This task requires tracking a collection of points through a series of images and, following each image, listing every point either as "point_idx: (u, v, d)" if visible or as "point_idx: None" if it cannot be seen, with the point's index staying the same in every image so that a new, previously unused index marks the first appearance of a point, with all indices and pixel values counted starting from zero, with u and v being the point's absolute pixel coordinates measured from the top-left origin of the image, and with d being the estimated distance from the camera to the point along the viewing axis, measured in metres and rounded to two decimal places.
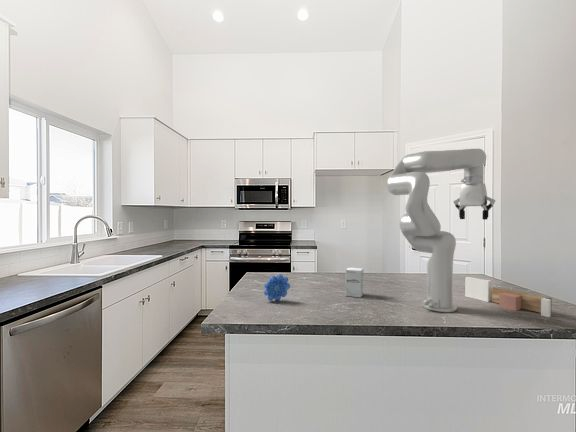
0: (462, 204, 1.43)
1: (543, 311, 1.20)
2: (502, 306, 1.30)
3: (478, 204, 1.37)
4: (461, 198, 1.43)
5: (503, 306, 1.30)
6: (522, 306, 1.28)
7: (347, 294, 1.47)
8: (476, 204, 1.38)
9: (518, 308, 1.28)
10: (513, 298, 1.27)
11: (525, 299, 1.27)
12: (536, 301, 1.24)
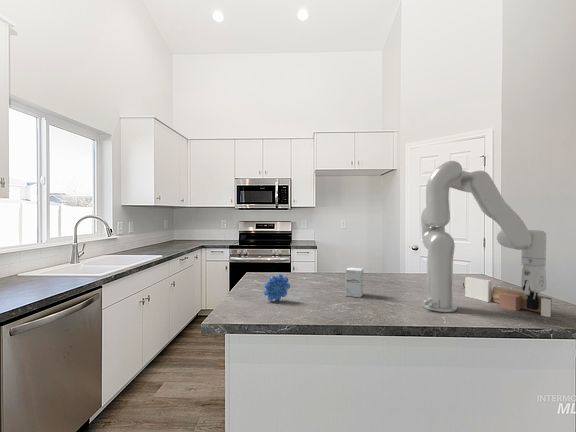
0: (537, 291, 1.19)
1: (543, 311, 1.20)
2: (502, 306, 1.30)
3: (545, 289, 1.22)
4: (536, 284, 1.19)
5: (503, 306, 1.30)
6: (522, 306, 1.28)
7: (347, 294, 1.47)
8: (544, 289, 1.22)
9: (518, 308, 1.28)
10: (513, 298, 1.27)
11: (525, 299, 1.27)
12: None
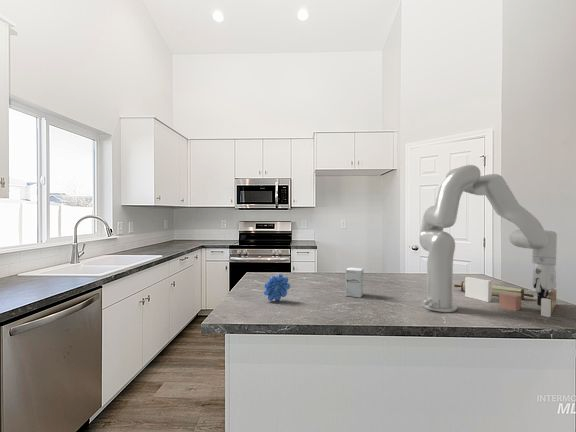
0: (547, 288, 1.24)
1: (543, 311, 1.20)
2: (502, 306, 1.30)
3: (555, 286, 1.28)
4: (547, 281, 1.24)
5: (503, 306, 1.30)
6: None
7: (347, 294, 1.47)
8: (554, 287, 1.28)
9: (518, 308, 1.28)
10: (513, 298, 1.27)
11: None
12: None
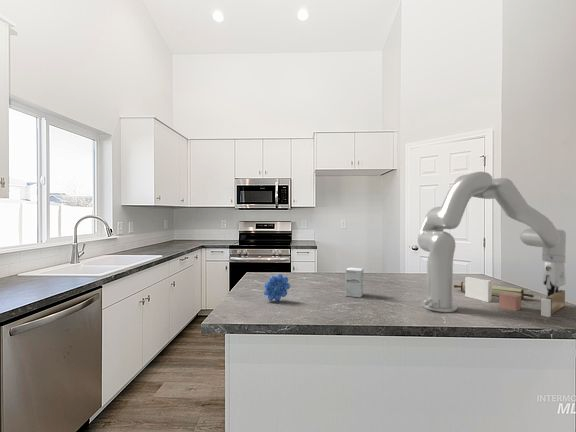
0: (557, 285, 1.29)
1: (543, 311, 1.20)
2: (502, 306, 1.30)
3: (564, 283, 1.33)
4: (557, 278, 1.29)
5: (503, 306, 1.30)
6: None
7: (347, 294, 1.47)
8: (563, 284, 1.32)
9: (518, 308, 1.28)
10: (513, 298, 1.27)
11: None
12: None
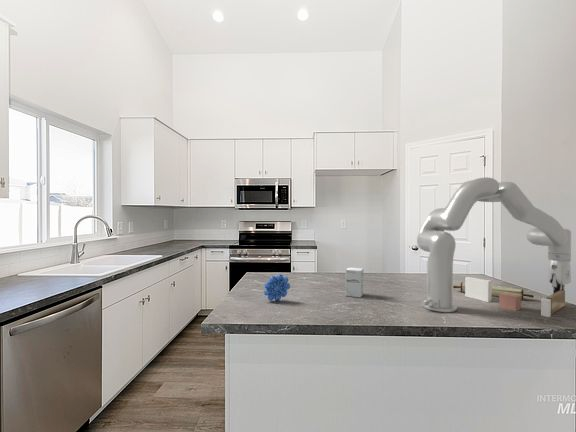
0: (563, 283, 1.32)
1: (543, 311, 1.20)
2: (502, 306, 1.30)
3: (570, 281, 1.36)
4: (563, 277, 1.32)
5: (503, 306, 1.30)
6: None
7: (347, 294, 1.47)
8: (569, 282, 1.35)
9: (518, 308, 1.28)
10: (513, 298, 1.27)
11: None
12: None
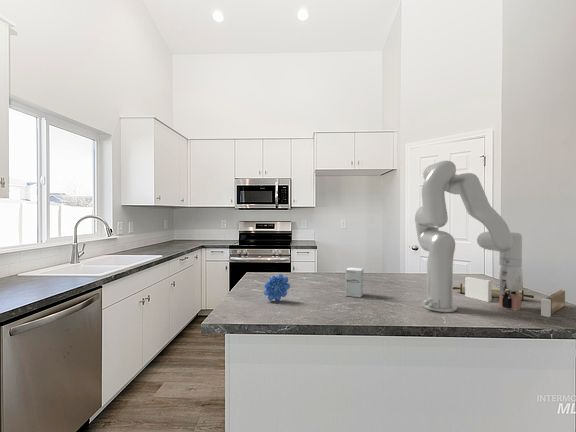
0: (513, 290, 1.26)
1: (543, 311, 1.20)
2: (502, 306, 1.30)
3: (521, 288, 1.29)
4: (512, 283, 1.26)
5: None
6: None
7: (347, 294, 1.47)
8: (520, 288, 1.29)
9: (518, 308, 1.28)
10: (513, 298, 1.27)
11: None
12: None
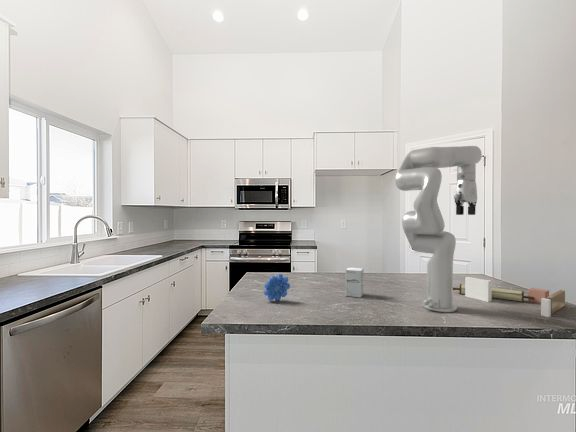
0: (467, 200, 1.42)
1: (543, 311, 1.20)
2: (531, 300, 1.39)
3: (476, 200, 1.46)
4: (466, 193, 1.42)
5: (532, 300, 1.39)
6: None
7: (347, 294, 1.47)
8: (475, 200, 1.45)
9: None
10: (542, 292, 1.36)
11: None
12: None
